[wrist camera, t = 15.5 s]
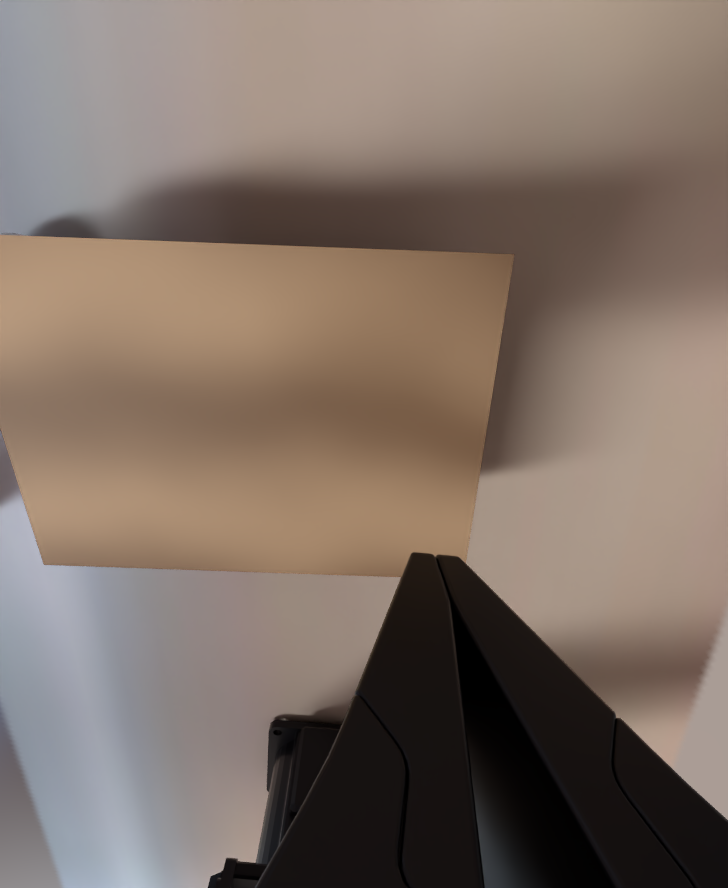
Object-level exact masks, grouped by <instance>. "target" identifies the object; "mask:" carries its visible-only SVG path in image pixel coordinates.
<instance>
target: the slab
mask: <svg viewBox="0 0 728 888" xmlns="http://www.w3.org/2000/svg"><path fill="white" fill-rule="evenodd" d="M513 260H514V254H493V253H467V252H440V251H414V250H388V249H361V248H335V247H308V246H282V245H256V244H229V243H203V242H176V241H150V240H123V239H97V238H71V237H44V236H18V235H0V429H1V432H2V436H3V439H4V442H5V445H6V448H7V451H8V454H9V457H10V461H11V464H12V467H13V470H14V473H15V476H16V479H17V482H18V486H19V489H20V492H21V495H22V498H23V501H24V504H25V507H26V510H27V514H28V517H29V520H30V523H31V526H32V529H33V532H34V535H35V539H36V542H37V545H38V548H39V551H40V554H41V557H42V560H43V564H44V565H66V566H95V567H124V568H153V569H182V570H211V571H240V572H268V573H297V574H326V575H355V576H384V577H402V574H403V572H404V569H405V567H406V564H407V562H408V559H409V557H410V555H411V553H413V552H420V553H430V554H433V555H434V556H436V555H438V554H440V555H451V556H458V557H459V558H461V559H462V560H463V561H464V562H465V563H466V558H467V551H468V545H469V539H470V532H471V526H472V520H473V513H474V507H475V501H476V494H477V488H478V482H479V475H480V469H481V463H482V456H483V450H484V444H485V437H486V431H487V425H488V419H489V412H490V406H491V400H492V393H493V387H494V381H495V374H496V368H497V362H498V355H499V349H500V343H501V336H502V330H503V324H504V317H505V311H506V305H507V298H508V292H509V286H510V279H511V273H512V267H513Z"/></svg>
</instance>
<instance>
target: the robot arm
mask: <svg viewBox="0 0 728 888" xmlns="http://www.w3.org/2000/svg"><path fill="white" fill-rule="evenodd" d="M267 791H268V792H269V795H268V800H267V805H266V811H265V816H264V822H263V827H262V832H261V838H260V843H259V849H258V854H257V859H256V863H250V862H240V861H238V859H235V858H226V862H225V866H224V869H223V871H221V872H220V873H218V874H215V875H213V876H211V878H210V882H209V885H208V888H728V820H727V819H726V818H725V817H724V816H723V815H721V814H720V813H719V812H718V811H717V810H716V809H715V808H714V807H713V806H712V805H710V804H709V803H708V802H707V801H706V800H705V799H704V798H703V797H702V796H700V795H699V794H698V793H697V792H696V791H695V790H694V789H693V788H692V787H691V786H689V785H688V784H687V783H686V782H685V781H684V780H683V779H682V778H681V777H680V776H679V775H678V774H677V773H676V772H675V771H674V770H673V769H672V768H671V767H670V766H669V765H668V764H667V763H666V762H665V761H664V760H663V759H662V758H660V757H659V756H658V755H657V754H656V753H655V752H654V751H653V750H652V749H651V748H650V747H649V746H648V745H647V744H646V743H645V742H644V741H643V740H642V739H641V738H640V737H639V736H638V735H637V734H636V733H635V732H634V731H633V730H632V729H631V728H630V727H629V726H628V725H627V724H626V723H625V722H624V721H623V720H622V719H621V718H616V714H615V712H614V711H613V710H612V709H611V708H610V707H609V706H608V705H607V704H606V703H605V702H604V701H603V700H602V699H601V698H600V697H599V696H598V695H597V694H596V693H595V692H594V691H593V690H592V689H591V688H590V687H589V686H588V685H587V684H586V683H585V682H584V681H583V680H582V679H581V678H580V677H579V676H578V675H577V674H576V673H575V672H574V671H573V670H572V669H571V668H570V667H569V666H568V665H567V664H566V663H565V662H564V661H563V660H562V659H561V658H560V657H559V656H558V655H557V654H556V653H555V652H554V651H553V650H552V649H551V648H550V647H549V646H548V645H547V644H546V643H545V642H544V641H543V640H542V639H541V638H540V637H539V636H538V635H537V634H536V633H535V632H534V631H533V630H532V629H531V628H530V627H529V626H528V625H527V624H526V623H525V622H524V621H523V620H522V619H521V618H520V617H519V616H518V615H517V614H516V613H515V612H514V611H513V610H512V609H511V608H510V607H509V606H508V605H507V604H506V603H505V602H504V601H503V600H502V599H501V598H500V597H499V596H498V595H497V594H496V593H495V592H494V591H493V590H492V589H491V588H490V587H489V586H488V585H487V584H486V583H485V582H484V581H483V580H482V579H481V578H480V577H479V576H478V575H477V574H476V573H475V572H474V571H473V570H472V569H471V568H470V567H469V566H468V565H467V564H466V563H465V562H464V561H463V560H462V559H461V558H459V557H458V556H451V555H440V554H438V555H436V556H434V555H433V554H430V553H420V552H413V553H411V555H410V557H409V559H408V562H407V564H406V567H405V569H404V572H403V574H402V577H401V579H400V582H399V584H398V587H397V589H396V592H395V594H394V597H393V599H392V602H391V604H390V607H389V609H388V612H387V614H386V617H385V619H384V622H383V624H382V627H381V629H380V632H379V634H378V637H377V639H376V642H375V644H374V647H373V649H372V652H371V654H370V657H369V659H368V662H367V664H366V667H365V669H364V672H363V674H362V677H361V679H360V682H359V684H358V687H357V689H356V692H355V696H354V697H353V698H352V701H351V703H350V706H349V708H348V711H347V714H346V716H345V719H344V721H343V723H342V725H331V724H318V723H306V722H294V721H282V720H276V721H273V722H272V723H271V725H270V729H269V743H268V773H267Z"/></svg>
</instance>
